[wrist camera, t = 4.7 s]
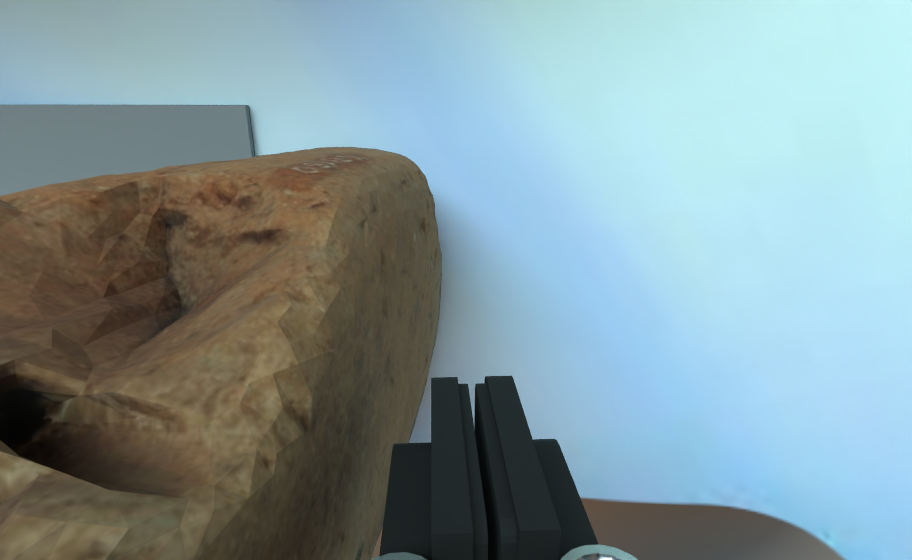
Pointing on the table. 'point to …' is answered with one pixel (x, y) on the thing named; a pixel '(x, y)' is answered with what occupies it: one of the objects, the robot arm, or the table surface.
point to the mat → (114, 140)
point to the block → (213, 356)
